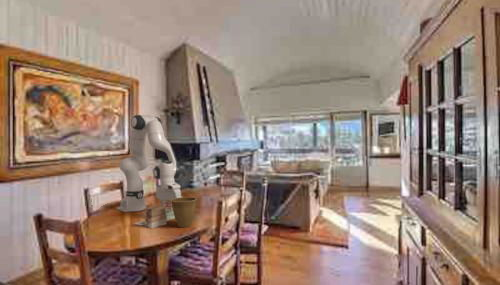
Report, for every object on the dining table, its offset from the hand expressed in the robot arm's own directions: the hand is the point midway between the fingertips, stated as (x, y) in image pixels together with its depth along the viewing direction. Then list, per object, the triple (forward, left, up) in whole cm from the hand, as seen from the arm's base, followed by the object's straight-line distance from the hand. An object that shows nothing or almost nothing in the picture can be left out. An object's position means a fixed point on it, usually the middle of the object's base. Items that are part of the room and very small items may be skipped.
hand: (168, 206), depth 208 cm
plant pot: (+21, -6, -8) cm, 23 cm away
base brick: (+5, -14, -8) cm, 17 cm away
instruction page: (-6, -15, -8) cm, 18 cm away
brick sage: (-1, 0, -8) cm, 8 cm away
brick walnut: (+5, -14, -2) cm, 15 cm away
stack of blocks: (-13, +15, -8) cm, 21 cm away
